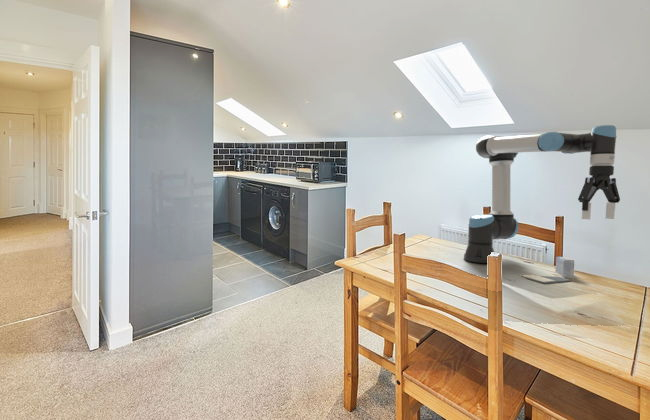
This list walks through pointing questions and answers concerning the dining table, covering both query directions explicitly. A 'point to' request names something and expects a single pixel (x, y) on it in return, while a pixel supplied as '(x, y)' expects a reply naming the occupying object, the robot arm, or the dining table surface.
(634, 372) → the dining table surface
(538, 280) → the mat
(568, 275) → the medicine box
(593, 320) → the dining table surface
